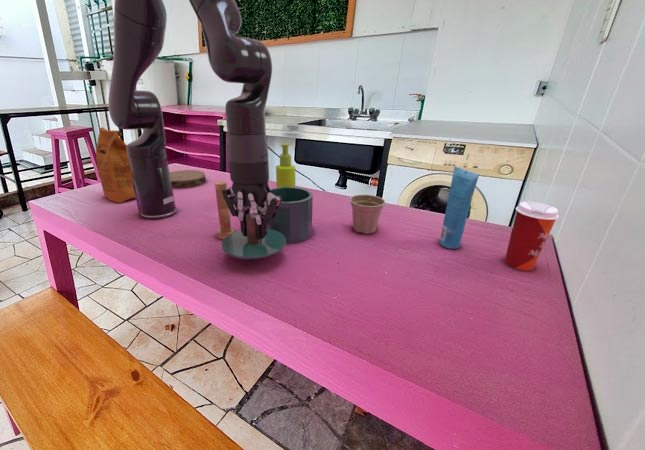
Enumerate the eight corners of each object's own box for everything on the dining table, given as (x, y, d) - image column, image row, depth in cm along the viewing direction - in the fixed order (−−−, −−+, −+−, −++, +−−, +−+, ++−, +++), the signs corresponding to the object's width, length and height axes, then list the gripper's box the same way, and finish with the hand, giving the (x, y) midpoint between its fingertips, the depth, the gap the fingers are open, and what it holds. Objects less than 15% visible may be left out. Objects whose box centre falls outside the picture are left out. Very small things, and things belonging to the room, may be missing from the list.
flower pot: (388, 229, 83) (392, 200, 80) (368, 240, 77) (372, 209, 74) (361, 220, 89) (363, 192, 86) (340, 229, 83) (342, 199, 79)
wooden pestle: (213, 237, 76) (206, 183, 70) (225, 230, 80) (219, 179, 74) (227, 240, 74) (221, 186, 69) (238, 234, 78) (234, 181, 72)
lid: (207, 252, 63) (203, 221, 60) (247, 227, 74) (245, 200, 71) (264, 267, 58) (262, 234, 55) (297, 239, 70) (296, 210, 67)
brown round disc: (176, 176, 126) (175, 169, 125) (212, 178, 124) (211, 171, 123) (152, 187, 111) (151, 179, 110) (193, 189, 110) (192, 181, 109)
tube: (467, 249, 74) (487, 173, 66) (453, 253, 72) (472, 175, 64) (444, 237, 80) (460, 165, 72) (431, 240, 78) (445, 167, 71)
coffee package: (132, 189, 108) (117, 125, 99) (148, 197, 101) (133, 129, 92) (100, 196, 101) (80, 127, 92) (115, 205, 94) (95, 132, 85)
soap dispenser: (297, 203, 101) (297, 142, 93) (293, 210, 95) (293, 145, 86) (280, 201, 101) (278, 141, 93) (275, 209, 95) (273, 144, 87)
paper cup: (539, 277, 64) (562, 216, 58) (498, 266, 67) (516, 208, 62) (538, 261, 70) (559, 205, 64) (500, 252, 74) (517, 198, 68)
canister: (253, 236, 77) (251, 197, 73) (279, 219, 88) (278, 184, 83) (298, 247, 72) (298, 206, 68) (319, 227, 83) (320, 191, 79)
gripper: (206, 156, 57) (216, 237, 64) (269, 164, 53) (272, 251, 60) (231, 150, 64) (238, 224, 71) (289, 157, 59) (291, 236, 66)
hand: (254, 236), depth 65 cm, fingers closed on lid, 3 cm apart
